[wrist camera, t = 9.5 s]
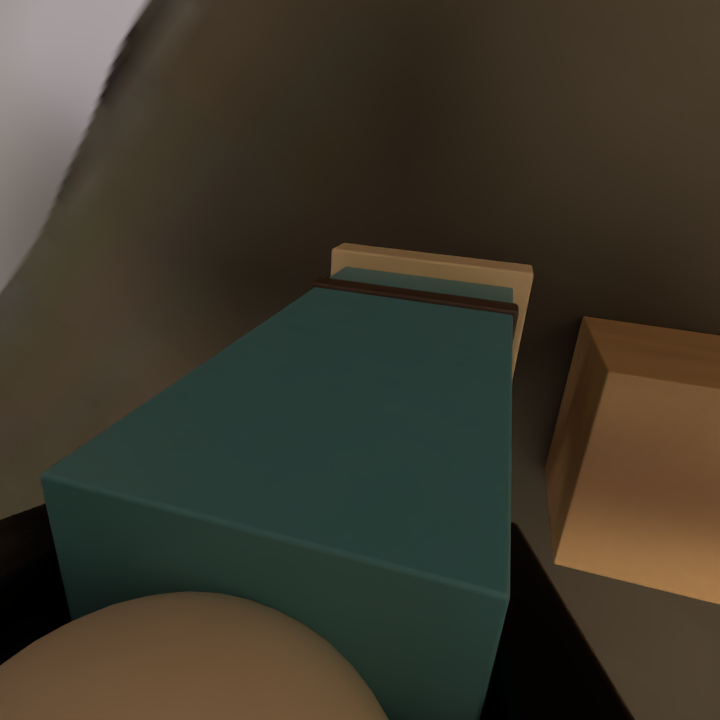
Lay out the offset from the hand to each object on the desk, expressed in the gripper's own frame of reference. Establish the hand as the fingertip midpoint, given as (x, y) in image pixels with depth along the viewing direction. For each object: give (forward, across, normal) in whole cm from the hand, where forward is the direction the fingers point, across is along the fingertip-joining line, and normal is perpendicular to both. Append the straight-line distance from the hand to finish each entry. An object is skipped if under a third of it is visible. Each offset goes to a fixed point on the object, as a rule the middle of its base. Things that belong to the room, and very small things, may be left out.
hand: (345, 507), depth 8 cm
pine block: (+11, -8, +3) cm, 14 cm away
